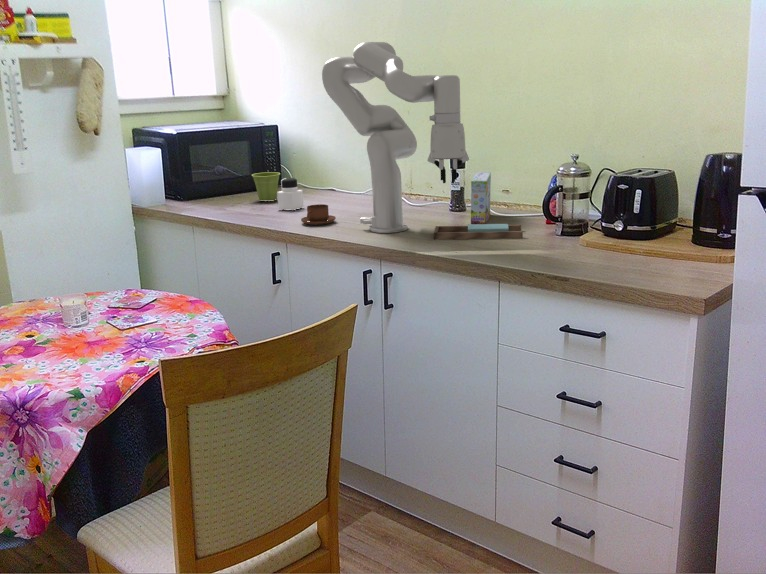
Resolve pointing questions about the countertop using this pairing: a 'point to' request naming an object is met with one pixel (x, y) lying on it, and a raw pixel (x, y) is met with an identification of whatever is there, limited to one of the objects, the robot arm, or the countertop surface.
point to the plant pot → (266, 185)
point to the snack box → (480, 198)
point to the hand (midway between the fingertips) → (448, 182)
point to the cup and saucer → (318, 215)
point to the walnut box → (475, 233)
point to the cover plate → (487, 227)
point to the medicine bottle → (290, 195)
